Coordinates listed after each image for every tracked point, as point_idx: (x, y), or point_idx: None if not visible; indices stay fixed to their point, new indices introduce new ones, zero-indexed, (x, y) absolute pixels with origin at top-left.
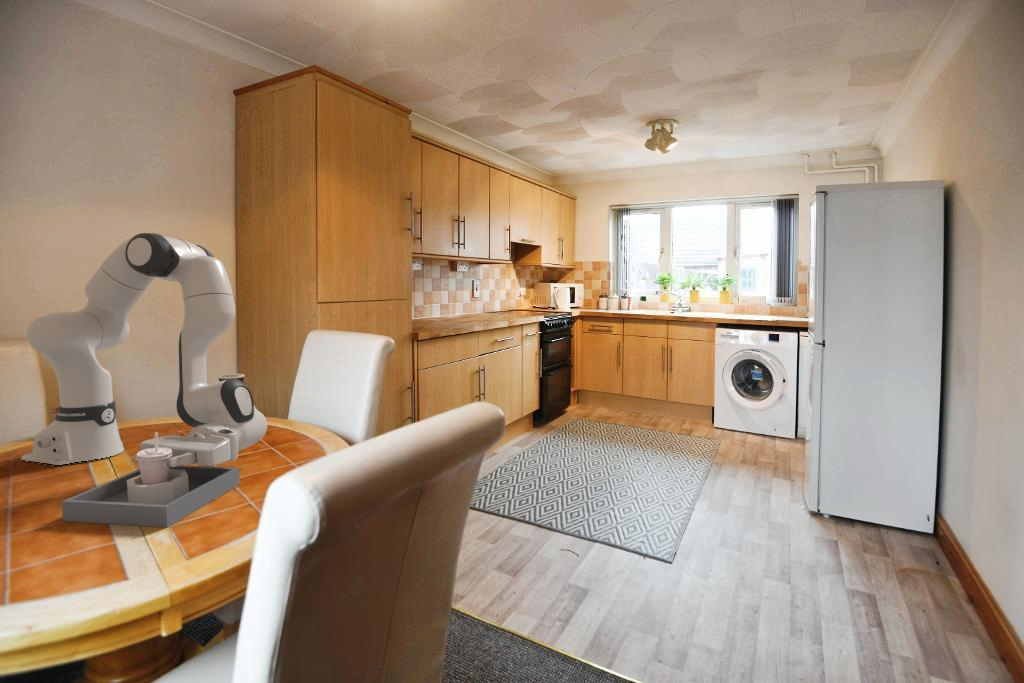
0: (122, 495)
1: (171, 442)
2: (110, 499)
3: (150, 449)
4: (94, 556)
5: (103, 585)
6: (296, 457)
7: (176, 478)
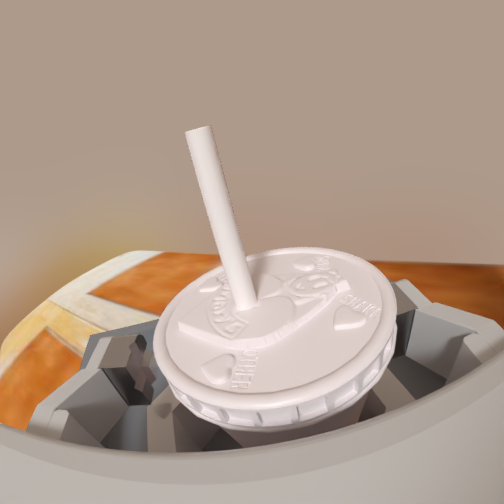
0: (413, 388)
1: (486, 481)
2: (401, 361)
3: (370, 301)
4: (159, 294)
5: (104, 283)
6: None
7: (169, 444)
